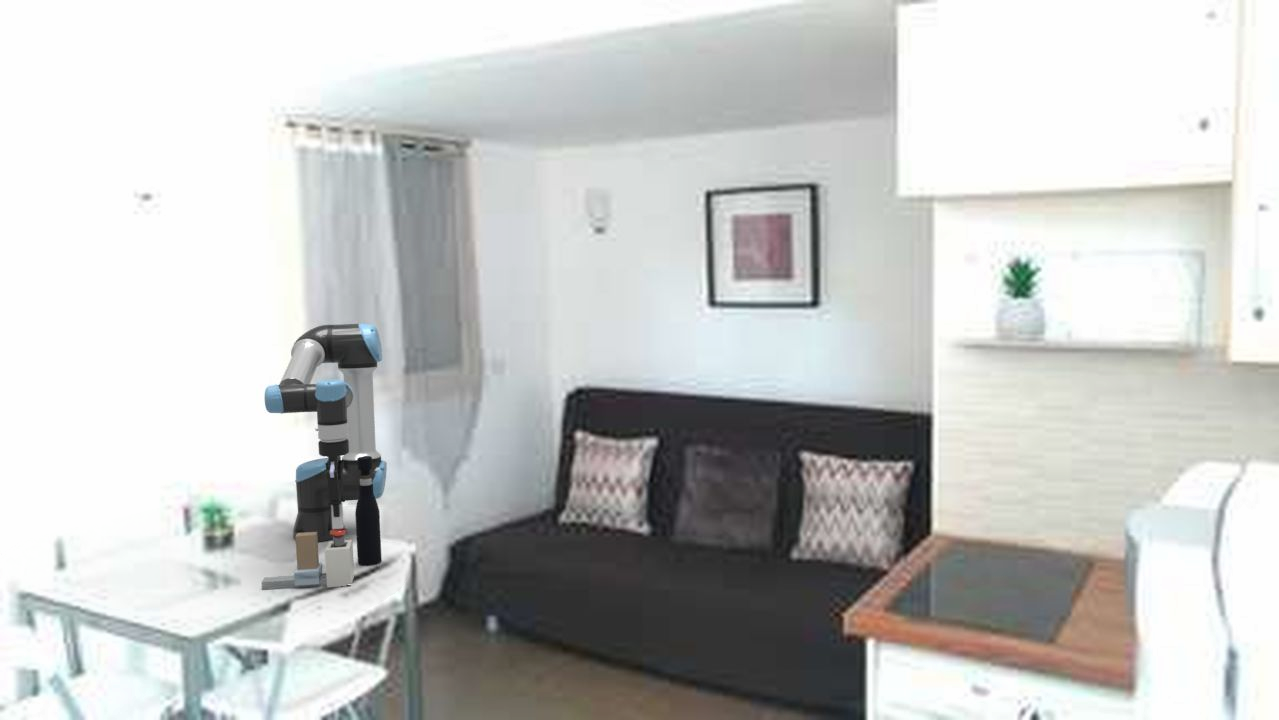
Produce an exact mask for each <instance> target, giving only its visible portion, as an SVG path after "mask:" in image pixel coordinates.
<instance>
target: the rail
mask: <svg viewBox="0 0 1279 720" xmlns="http://www.w3.org/2000/svg"><path fill="white" fill-rule="evenodd" d="M319 582H320V583H319V584H310V585H296V586H295V579H294V574H292V575H281V576H279V575H278V576H265V577H263V579H262V581H261V590H266V589H267V590H280V589H291V588H305V587H306V588H307V587H308V588H309V587H319V586H320V587H321V586H327V578H326V572H323V573H321V574H320V576H319Z"/></svg>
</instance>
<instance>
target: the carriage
mask: <svg viewBox="0 0 1279 720" xmlns="http://www.w3.org/2000/svg"><path fill="white" fill-rule="evenodd" d="M295 537H296V540H295V550H296V568H295V570H294V572H293V575H294V579H295V586H296V585H310V584H319V583H320V582H319V576H320V574H321V573H324V571H323V562H320V557H319V554H320V553H319V544H318V543H319V542H318V536H317V532H306V533H297V535H296V536H295Z"/></svg>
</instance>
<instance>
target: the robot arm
mask: <svg viewBox="0 0 1279 720" xmlns="http://www.w3.org/2000/svg"><path fill="white" fill-rule="evenodd" d="M292 345H293V346H292V347H291V351H290V356H291V358H290V361H289V362H288V365H287V367H286V369H285V371H284V373H283V375H282V377H281V380H280V382H279V384H275V385H274V384H273V385H268V386H267V387H266V388H265V390H264V406H265V409H266V412H268V413H270V414H280V415H281V414H296V413H298V414H299V413H316V417H317V418H316V420H317V421H316V422H317V427H315V429H314V430H315V431H316V432H318V434H317V436H318V437H317V438H318V439H319V441H318V442H317V443H318V444H317V445H318V454H319V456H320V457H321V458H318V459H312V460H308V461H306V462H303V463H302V464H299V465H298V466H297V467H296V469H295V479H294V480H295V488H296V502H297V503H296V505H297V515H296V518H295V521H294V525H293V529H292V538H293V540H294V541H296V537H295V536H296V535H297V533H306V532H317V536H318V543H319V542H326V541H332V540H333V536H331V535H330V530H332V529H341V528H345V524H344V507H343V503H345V502H348V501H358V498H359V485H360V481H359V480H360V478H362V477H361V470H358V460H357V458H358V457H361V456H371V457H372V469H370V476H369V477H371V479H372V480H371V481H372V484H373V494H374V496H375V499H376V500H377V499H380V498H382V496H383V494H384V491H385V486H386V478H387V471H388V470H387V461H386V460H383V459H382V454H381V453H380V452H379V451H377V449H376V426H375V423H376V422H375V403H374V402H375V401H374V400H375V399H374V377H373V376H374V375H373V374H374V372H375V371H376V369H377V368H378V363H379V362H382V360H383V350H382V343H381V337H380V334H379V331H378V328H377V326H376V325H374V324H372V323H360V322H359V323H348V324H346V323H345V324H344V323H343V324H324V325H323V324H322V325H318V326H316V327H314V328H311V329H309V330H308V331H306V332H303V334H302V335H300V336H299V337H297V339H296V340H295V342H294V343H293V344H292ZM321 364H337V369H338V371H340V372H341V373H342V374H343V379H339V378H338V379H334V378H332V379H331V378H330V379H323V380H319V381H317V382H316V383H311V382H312V380H313V378H314V376H315V373H316V371H317V368H318V367H319V366H321ZM341 456H342V457H341Z"/></svg>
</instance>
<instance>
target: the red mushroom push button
mask: <svg viewBox="0 0 1279 720" xmlns="http://www.w3.org/2000/svg"><path fill="white" fill-rule="evenodd" d="M346 534H347V528H345V527H344V528H341V529H332V530H330V535H331V536H333V539H332V541H333V547H345V544H344V540H345V535H346Z"/></svg>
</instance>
